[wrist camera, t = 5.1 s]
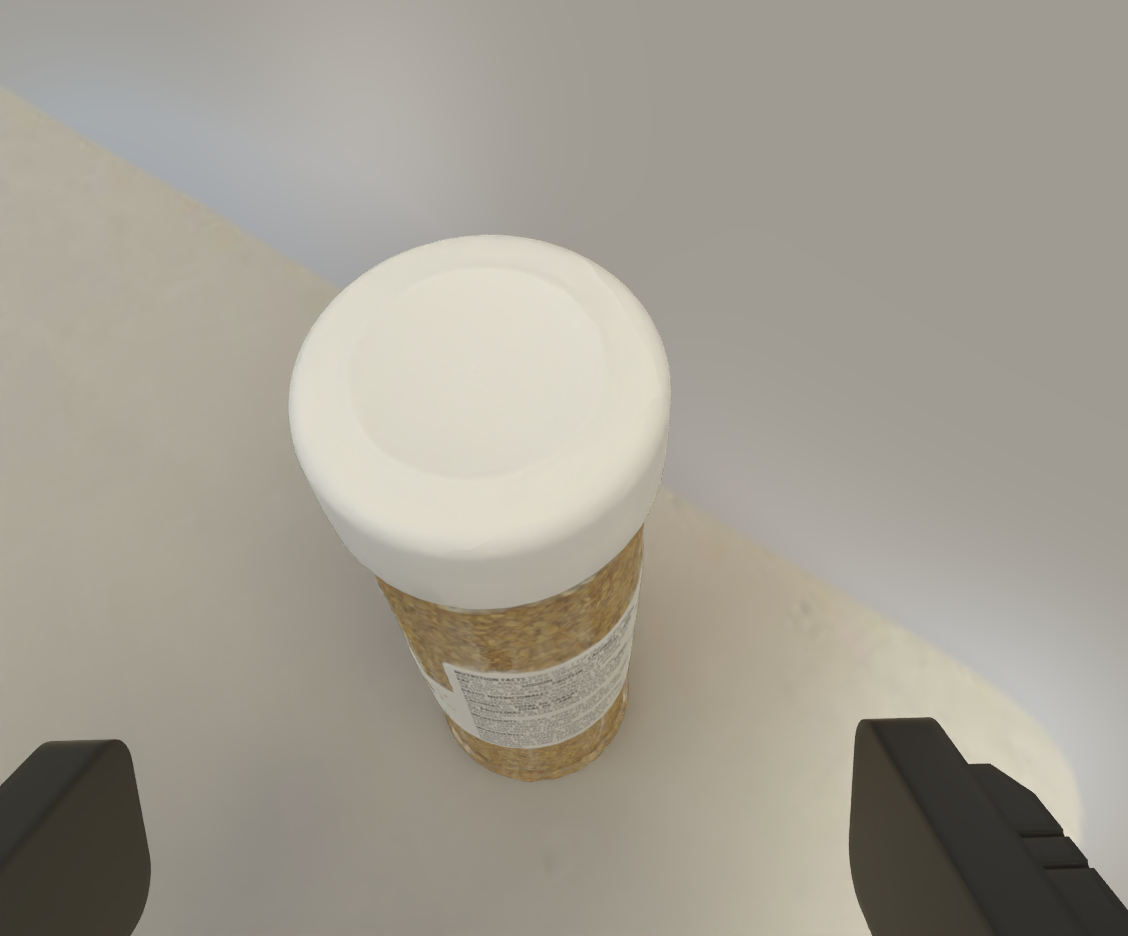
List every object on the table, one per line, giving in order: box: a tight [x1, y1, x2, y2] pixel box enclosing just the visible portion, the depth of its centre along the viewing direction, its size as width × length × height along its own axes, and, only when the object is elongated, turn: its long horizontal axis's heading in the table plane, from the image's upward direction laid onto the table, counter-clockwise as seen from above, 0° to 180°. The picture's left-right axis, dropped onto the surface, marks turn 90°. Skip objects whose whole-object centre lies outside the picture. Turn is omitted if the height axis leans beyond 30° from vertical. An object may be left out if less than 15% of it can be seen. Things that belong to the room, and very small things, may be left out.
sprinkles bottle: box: [288, 235, 671, 782], centre depth 16 cm, size 5×5×13 cm
